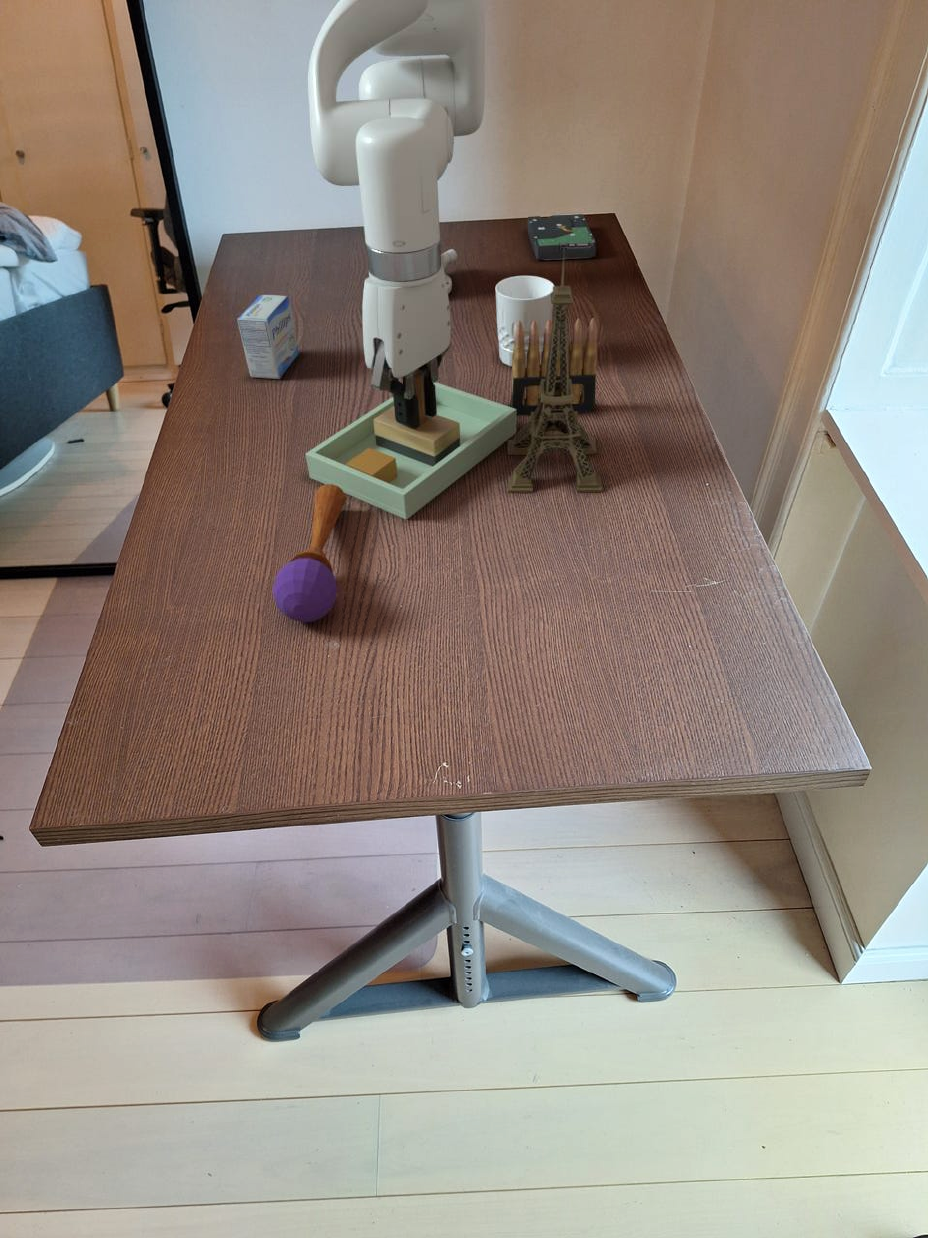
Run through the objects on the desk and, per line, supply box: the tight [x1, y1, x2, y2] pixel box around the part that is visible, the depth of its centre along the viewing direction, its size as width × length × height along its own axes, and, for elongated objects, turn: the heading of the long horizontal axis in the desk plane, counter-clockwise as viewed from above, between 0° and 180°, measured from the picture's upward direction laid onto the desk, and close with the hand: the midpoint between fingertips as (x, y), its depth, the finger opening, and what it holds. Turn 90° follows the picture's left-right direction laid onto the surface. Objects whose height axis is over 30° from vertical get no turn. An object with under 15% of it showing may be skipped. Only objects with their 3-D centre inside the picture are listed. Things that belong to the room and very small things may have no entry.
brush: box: [373, 369, 460, 466], centre depth 99 cm, size 5×9×10 cm, turn 54°
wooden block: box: [346, 448, 397, 483], centre depth 96 cm, size 4×4×2 cm
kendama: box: [272, 484, 347, 623], centre depth 86 cm, size 6×6×20 cm
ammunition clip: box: [509, 317, 598, 416], centre depth 105 cm, size 11×2×12 cm, turn 92°
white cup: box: [494, 275, 555, 369], centre depth 116 cm, size 8×8×10 cm
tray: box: [305, 381, 517, 520], centre depth 101 cm, size 22×15×3 cm
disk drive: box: [526, 213, 597, 261], centre depth 150 cm, size 10×3×15 cm
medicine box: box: [237, 294, 300, 380], centre depth 117 cm, size 8×4×9 cm, turn 168°
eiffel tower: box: [507, 247, 603, 494], centre depth 91 cm, size 11×11×25 cm
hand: (416, 417), depth 99 cm, fingers closed on brush, 2 cm apart
